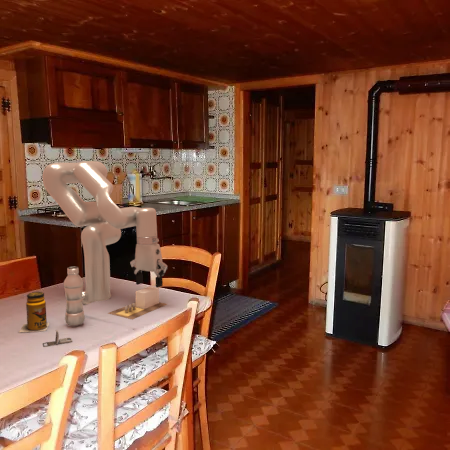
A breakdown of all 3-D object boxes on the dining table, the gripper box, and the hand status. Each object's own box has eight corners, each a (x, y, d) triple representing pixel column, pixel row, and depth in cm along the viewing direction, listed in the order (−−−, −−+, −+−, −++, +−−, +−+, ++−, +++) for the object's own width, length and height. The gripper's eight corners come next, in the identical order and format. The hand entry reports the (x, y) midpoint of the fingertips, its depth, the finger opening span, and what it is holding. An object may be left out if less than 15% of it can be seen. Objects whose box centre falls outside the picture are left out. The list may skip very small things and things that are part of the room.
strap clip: (71, 339, 139) (71, 327, 138) (72, 343, 136) (72, 330, 136) (42, 344, 135) (41, 331, 135) (43, 348, 132) (42, 334, 132)
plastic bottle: (66, 329, 147) (64, 271, 144) (63, 323, 152) (61, 266, 150) (86, 326, 150) (84, 269, 147) (83, 320, 155) (81, 265, 153)
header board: (132, 323, 153) (132, 312, 152) (107, 317, 159) (107, 306, 158) (168, 307, 170) (168, 297, 169) (144, 302, 176) (144, 292, 175)
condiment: (46, 331, 145) (44, 296, 144) (18, 333, 143) (16, 297, 142) (49, 323, 152) (48, 289, 151) (23, 325, 150) (21, 291, 149)
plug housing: (144, 308, 163) (144, 293, 163) (135, 306, 166) (135, 291, 165) (159, 303, 171) (158, 288, 170) (150, 301, 173) (150, 286, 172)
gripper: (171, 240, 163) (173, 285, 166) (136, 238, 172) (138, 280, 174) (158, 243, 157) (160, 290, 159) (123, 240, 166) (125, 285, 168)
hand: (149, 285), depth 167 cm, fingers open, 9 cm apart
